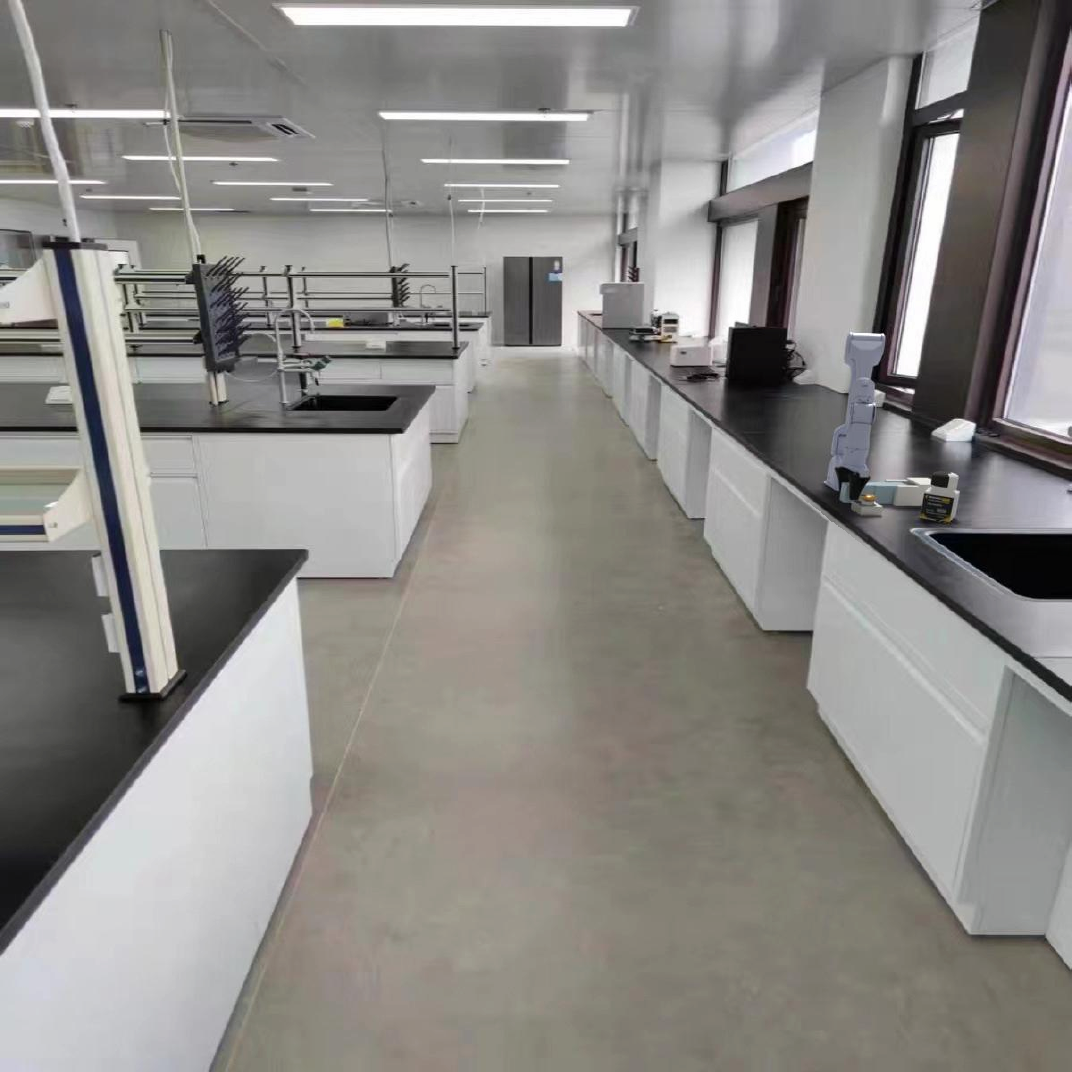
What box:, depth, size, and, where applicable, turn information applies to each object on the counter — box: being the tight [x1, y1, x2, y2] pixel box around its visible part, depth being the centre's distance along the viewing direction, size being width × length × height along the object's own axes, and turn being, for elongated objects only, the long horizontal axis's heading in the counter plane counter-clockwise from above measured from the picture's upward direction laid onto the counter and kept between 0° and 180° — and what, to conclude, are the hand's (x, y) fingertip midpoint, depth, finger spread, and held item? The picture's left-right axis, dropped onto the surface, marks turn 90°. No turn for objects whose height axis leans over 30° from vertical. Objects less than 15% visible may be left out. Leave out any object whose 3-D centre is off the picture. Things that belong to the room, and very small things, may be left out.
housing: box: [884, 477, 931, 507], centre depth 210 cm, size 7×12×6 cm, turn 93°
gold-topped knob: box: [861, 494, 877, 506], centre depth 200 cm, size 4×4×4 cm
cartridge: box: [839, 481, 908, 505], centre depth 209 cm, size 4×17×5 cm, turn 93°
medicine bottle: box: [919, 470, 961, 523], centre depth 196 cm, size 7×7×12 cm
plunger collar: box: [850, 501, 884, 516], centre depth 200 cm, size 6×6×2 cm
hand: (848, 496), depth 209 cm, fingers open, 6 cm apart
